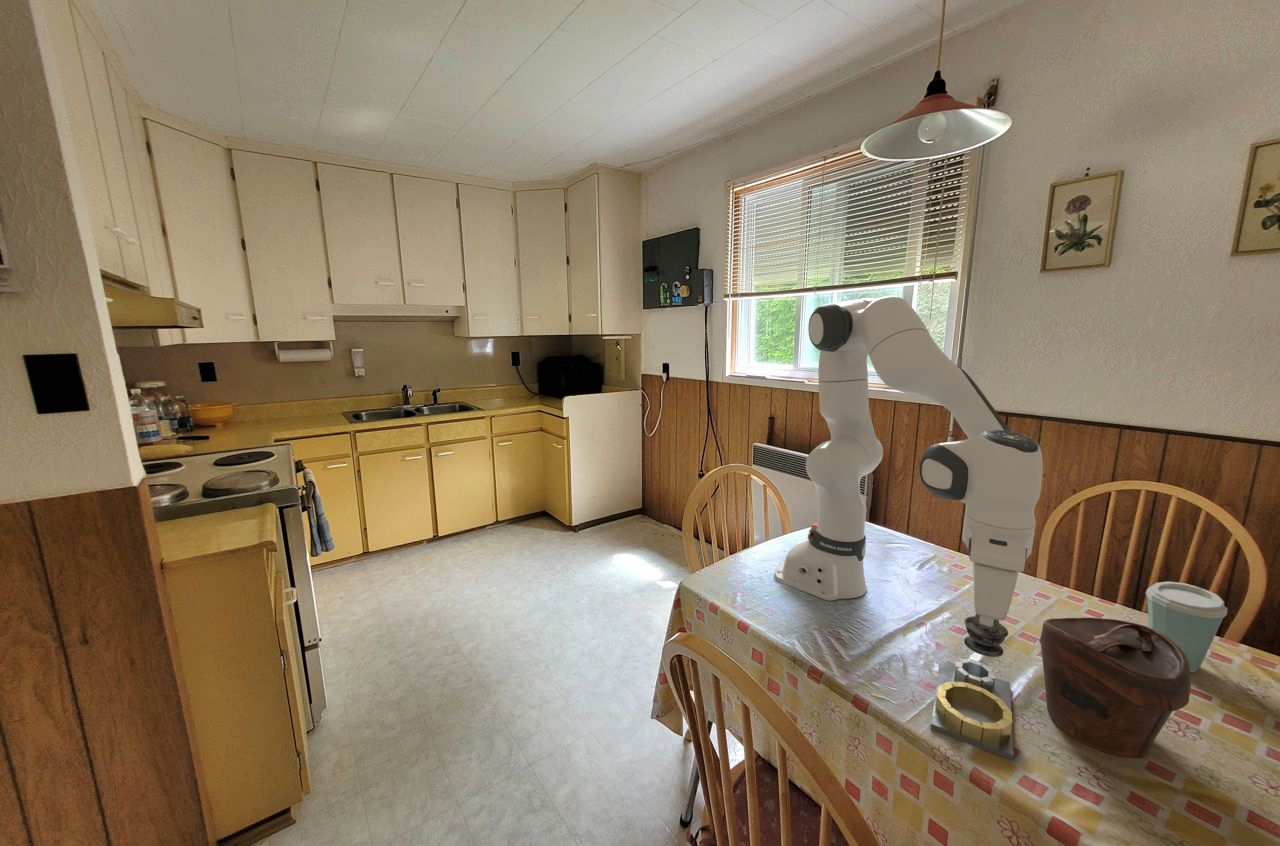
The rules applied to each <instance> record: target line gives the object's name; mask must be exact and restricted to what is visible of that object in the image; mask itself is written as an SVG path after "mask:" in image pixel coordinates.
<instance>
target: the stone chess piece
mask: <svg viewBox="0 0 1280 846" xmlns="http://www.w3.org/2000/svg"><path fill="white" fill-rule="evenodd" d="M979 619H980V615H978V614H977V613H976V612H975V615H972V616H968V617H966V618H965V619H964V620H963V621H964V622H963V624H964V625H965V627H966V628H965V629H966V631H967V634H968V636H966V637H965V638H964V645H965V646H966V647H967V648H968V649H969V650H971V651H972V652H974V653H975V654H978V655H981V656H985V657H990V658H998V657H1002V656H1003V654H1004V649H1003V648H1002V647H1001V645H1002V643H1003V642H1004V641H1005V639H1006V638H1007V637H1009V630H1008V629H1007V628H1006V626H1005V625H1003V624H1001V623H1000V620H995V619H994V623H993V626H987V625H983V624H981V623H980V622H979Z"/></svg>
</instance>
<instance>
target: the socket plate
mask: <svg viewBox="0 0 1280 846" xmlns="http://www.w3.org/2000/svg"><path fill="white" fill-rule="evenodd" d="M935 688H936V689H935V695H934V700H933V701H934V703H933V708H932V715H931V720H930V722H931V723H930V730H933V731H936V732H938V733H940V734H943V735H946V736H947V737H950V738H953V739H955V740H959V741H961V742H963V743H966V744H969V745H971V746H973V747H976V748H979V749H982V750H984V751H987V752H989V753H990V754H991V753H992V754H994V755H996V756H997V755H998V756H999V757H1002V758H1004V759H1007V760H1010V761H1011V762H1013V761H1014V756H1015V755H1014V738H1013V737H1014V736H1013V712H1012V702H1011V701H1012V700H1011V698H1012V697H1011V683H1010V681H1007V680H1003V679H1001V678H998V677H996V673H995V672H994V670H993V669H992V668H990V667H989V666H988V665H987V664H982V662H980V661H977V660H974V659H970V658H969V659H967V658H961V659H957V660H956V661H955V664H954V663H951V662H947V661H944V660H940V661H939V669H938V674H937V682H936V687H935Z"/></svg>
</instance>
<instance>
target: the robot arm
mask: <svg viewBox="0 0 1280 846" xmlns="http://www.w3.org/2000/svg"><path fill="white" fill-rule="evenodd" d="M807 327H808V329H807V330H808V336H809V340H810V342H811V344H812V345H813V346H814V347H815V348H816V349H817V350H818V351H819V359H818V369H817V370H818V377H817V378H818V398H819V399H818V400H819V401H818V402H819V413H820V415H821V416H822V418H824V419H825V421H826V424H827V426H828V430H829V433H830V434H829V435H830V440H828V441H824V442H821V443H820V444H819V445H818V446H815V448H814V449H812V451H810V452H809V454H808V455H807V457H806V459H805V460H806V461H805V469H806V473H807V475H808V477H809V478H810V480H811V481H812V482H813V483H814V485H815V489H816V492H817V494H816V495H817V500H818V508H817V522H814V523H813V524H812V525H811V527H810V529H809V531H808V534H807V540H805V541H802V542H800V543H798V544H796V545H794V546H793V547H792V548H791V549H790V550H789V551H788V552H787V554H786V557H785V559H784V560H782V561H781V562H779V564H778V565H777V566H776V568H775V571H774V578H775V580H776V581H778V582H779V583H783V584H785V585H787V586H790V587H792V588H794V589H798V590H800V591H803V592H805V593H808V594H809V595H812V596H815V597H818V598H820V599H821V600H825V601H829V602H831V601H837V600H839V599H843V600H844V599H854V598H856V599H857V598H859V597H861V596H863V595H865V594H866V593H867V591H868V589H867V588H868V587H867V584H866V579H865V578H866V577H865V569H864V558H865V556H866V547H867V541H866V540H867V536H866V535H865V529H866V516H867V506H866V503H865V502H864V501H863V498H862V495H861V487H860V482H861V480H862V478H863V477H864V476H866V475H868V474H871V473H872V472H873V471H875V469H876V468H877V467H878V466H879V464H880V463H882V460H883V457H884V448H883V445H882V443H881V441H880V440H879V439H878V438H877V435H876V431H875V429H874V424H873V421H872V416H871V411H870V400H869V399H870V398H869V396H870V395H869V375H868V356H869V360H870V361H871V364H872V366H873V369H874V370H875V372H876V374H877V375H878V377H879V379H880V380H882V382H883V383H884V384H885V385H886V386H887V387H889V388H891V389H893V390H895V391H898V392H901V393H904V394H909V395H914V396H916V397H917V396H918V397H921V398H924V399H928V400H931V401H933V402H935V403H936V404H939V405H941V406H943V407H944V408H945V409H946V410H948V411H949V412H950V414H951V415H952V417H954V419H955V421H956V422H957V424H958V425H959V426H960V428H961V429H962V431H963V432H964V434H965V435H966V436H967V439H962V440H955V441H947V442H939V443H935V444H932V445H930V446H929V447H927V449H925V450H924V452H923V453H922V455H921V457H920V460H919V466H918V468H919V470H918V471H919V477H920V481H921V483H922V485H923V486H924V488H925V489H927V491H929V493H930V494H932V495H934V496H936V497H938V498H941V499H945V500H951V501H958V502H962V503H964V504H965V507H966V508H965V512H964V519H963V527H962V528H963V529H962V537H961V539H962V542H963V544H965V546H966V548H967V551H968V556H969V561H970V562H971V563H972V565H973V566H972V568H973V569H972V570H973V602H974V603H973V604H974V612H975V614H976V613H977V614H978V615H980V619H979V622H980V623H981V624H983V625H987V626H993V623H994V619H995V620H999V622H1000V621H1004V620H1005V619H1006V618H1007V615H1008V614H1009V610H1010V608H1011V607H1010V606H1011V604H1012V600H1013V597H1014V593H1015V589H1016V584H1017V581H1018V578H1019V577H1018V576H1019V573H1024V570H1025V568H1026V562H1027V559H1028V558H1029V557H1030V556H1031V554H1032V551H1033V550H1032V549H1033V545H1034V538H1035V536H1034V535H1035V530H1036V523H1037V522H1036V516H1035V509H1036V508H1035V507H1036V505H1037V503H1038V501H1039V500H1040V497H1041V490H1042V482H1043V470H1044V469H1043V468H1044V467H1043V455H1042V454H1043V453H1042V450H1041V447H1040V445H1039V443H1038V442H1037V441H1035V440H1034V439H1032V438H1031V437H1029V436H1027V435H1025V434H1023V433H1019V432H1014V431H1012V430H1011V429H1010V428H1009V426H1007V424H1006V423H1005V422H1004V420H1003V419H1002V417H1001V416H1000V415H999V413H998V412H997V411H996V409H995V408H994V407H993V406H992V404H991V402H990V401H989V400H988V398H987V397H986V396H985V394H984V393H983V391H982V390H981V389H980V388H979V387H978V385H977V384H976V382H975V381H974V380H973V378H972V377H971V376H970V375H969V374H968V373H967V371H965V370H964V369H963V368H961V366H959V365H958V364H956V363H955V362H954V361H953V360H951V359H950V358H949V357H948V356H947V355H946V354H945V353H944V352H943V350H942V349H941V348H940V347H939V346H938V345H937V343H936V342H935V341H934V339H933V338H932V336H931V333H930V332H929V329H928V328H927V327H926V324H925V323H924V321H923V320H922V318H921V317H920V316H919V314H918V313H917V312H916V310H915V309H914V308H913V307H912V305H911V304H909V303H908V301H906V300H905V299H904V298H903V297H900V296H895V295H889V296H888V295H887V296H883V297H878V298H877V297H876V298H859V299H854V300H853V299H852V300H847V301H841V302H836V303H835V302H830V303H826V304H823V305H820V306H818V307H816V308H815V309H814V310H813V312H812V313H811V315H810V318H809V322H808V325H807Z"/></svg>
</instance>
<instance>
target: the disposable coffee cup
mask: <svg viewBox="0 0 1280 846" xmlns="http://www.w3.org/2000/svg"><path fill="white" fill-rule="evenodd" d="M1145 595H1146V599H1147V616H1148V617H1147V619H1148V623H1147V624H1148V627H1149V628H1151V629H1153V630H1155V631H1158V632H1160V633H1162V634H1163V635H1165V636H1166V637H1168V638H1169V639H1170V640H1172V641H1173V642H1174V643H1175V644H1176V645H1178V646H1179V647H1180V649H1181V650H1182V651H1183V652H1184V654H1185V655H1186V657H1187V659H1188V662H1189V666H1190V673H1196V672H1197V670H1199V669H1200V668H1201V666H1202V665H1203V662H1204V660H1205V659H1206V658H1205V657H1206V655H1207V653H1208V651H1209V649H1210V648H1211V646H1212V642H1213V640H1214V639H1215V636H1216V634H1217V632H1218V631H1219V628H1220V626H1221V624H1222V622H1223V619H1225V617H1226V616H1227V615H1228V607H1226V605H1225V601H1224V600H1223V599H1222V598H1221V597H1220V596H1219V595H1218V594H1216V593H1214V592H1212V591H1209V590H1207V589H1205V588H1202V587H1199V586H1195V585H1192V584H1188V583H1185V582H1184V583H1183V582H1178V581H1177V582H1176V581H1162V582H1161V581H1160V582H1155V583H1154V584H1153V585H1150V586H1149V587H1148V588H1147V589H1146V592H1145Z"/></svg>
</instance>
